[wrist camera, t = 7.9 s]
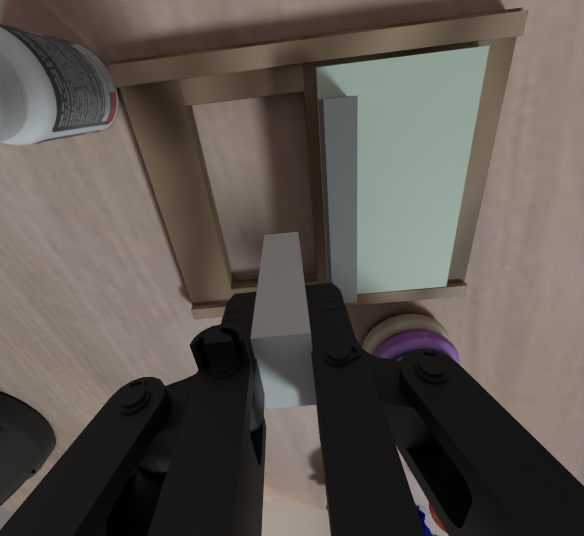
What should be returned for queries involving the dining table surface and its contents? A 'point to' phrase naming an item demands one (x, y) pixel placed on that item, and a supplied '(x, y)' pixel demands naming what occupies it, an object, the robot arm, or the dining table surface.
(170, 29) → the dining table surface
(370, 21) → the dining table surface
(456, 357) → the stacking toy
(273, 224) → the dining table surface
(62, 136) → the pill bottle
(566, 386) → the dining table surface
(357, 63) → the lid
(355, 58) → the wooden frame
